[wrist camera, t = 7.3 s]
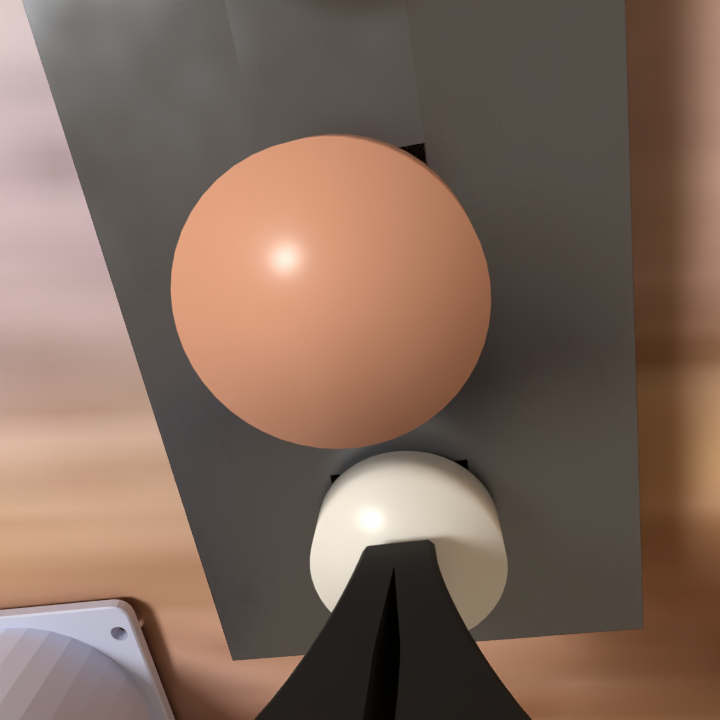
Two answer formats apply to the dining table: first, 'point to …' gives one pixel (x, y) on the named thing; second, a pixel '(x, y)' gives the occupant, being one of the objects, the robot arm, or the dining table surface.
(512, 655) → the dining table surface
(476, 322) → the middle knob
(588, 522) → the knob plate
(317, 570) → the knob
